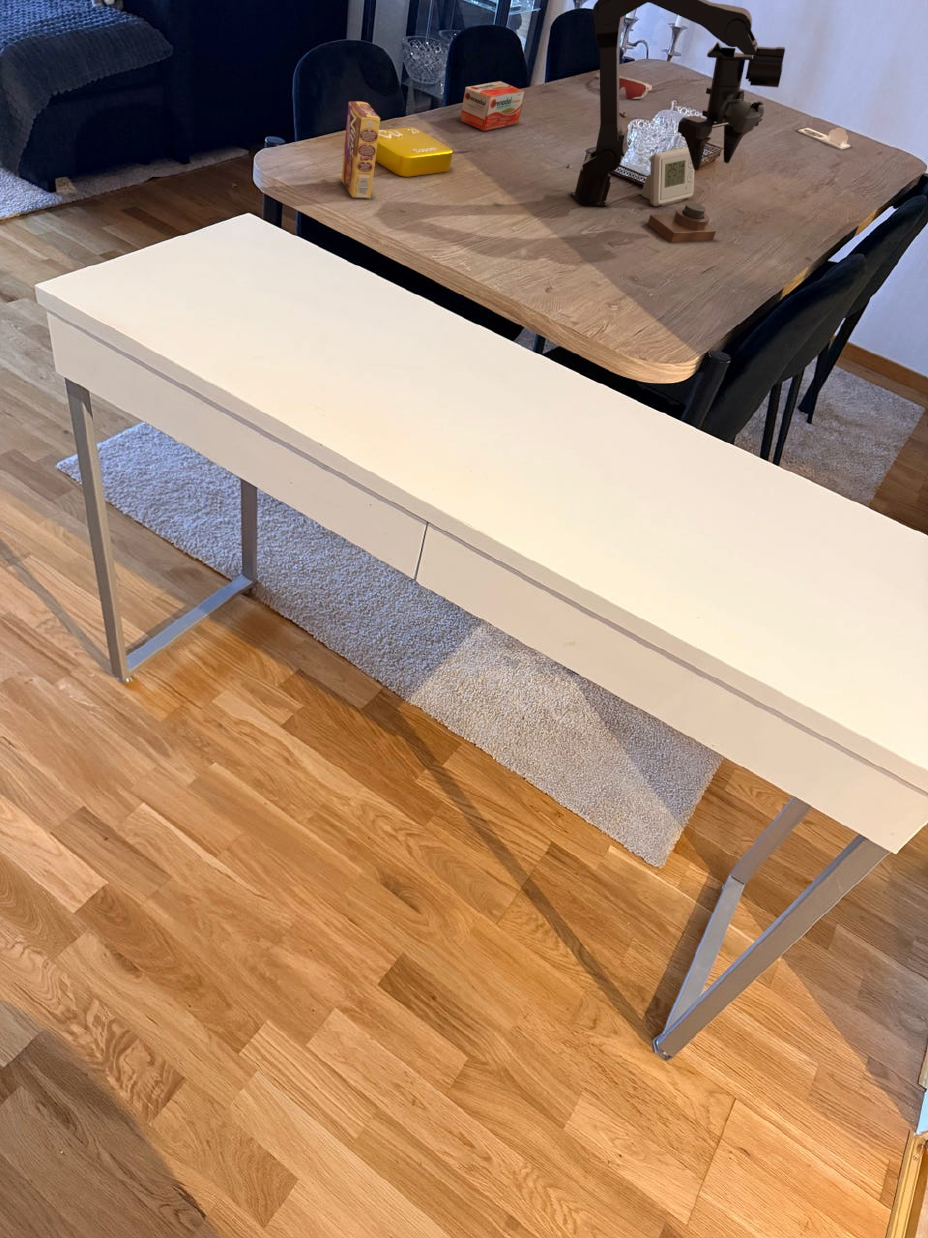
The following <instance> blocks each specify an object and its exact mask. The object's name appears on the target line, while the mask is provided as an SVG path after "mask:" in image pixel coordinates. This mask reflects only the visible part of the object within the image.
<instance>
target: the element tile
mask: <svg viewBox="0 0 928 1238" xmlns="http://www.w3.org/2000/svg"><path fill="white" fill-rule="evenodd" d="M452 158H453V149H452V148H451V147H449V146H447V145H445V144H444V143H442V142H440V141H438V140H437V139H435V138H434V137H432V136H430V135H428V134H426V133H425V132H423V131H422V130H420V129H418V128H417V127H413V126H411V127H399V128H389V129H379V134H378V142H377V150H376V158H375V163H378V165H381V166H383V168H385V169H387V170H389V171H390V172H392V173H393V174H395V175H397V176H399V177H404V178H411V177H418V176H425V175H432V174H441V173H447V172H449V171H450V170H451V164H452Z"/></svg>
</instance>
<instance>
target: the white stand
mask: <svg viewBox="0 0 928 1238" xmlns="http://www.w3.org/2000/svg"><path fill="white" fill-rule="evenodd" d="M797 133H800V134H802V135H805V136H807V137H810V138H812V139H814V140H816V141H819V142H821V143H824V144H826V145H828V146H830V147H833V148H835V149H838V150H844V149H848V148H851V144H848V143H847V142H848V141H849V136H848V134H847V130H846V129H845V128H842V127H836V128H835V129H834V128H833V129H831V130H829V133H828V135H827V134H824V133H821V132H819V131H817V130H815V129H812V128H810V127H805V128H802V129H798V130H797Z"/></svg>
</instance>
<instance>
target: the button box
mask: <svg viewBox="0 0 928 1238" xmlns="http://www.w3.org/2000/svg"><path fill="white" fill-rule="evenodd" d="M684 208H685V206H684V207H683V206H681V207H678V208H677V209H676V210H675V213H661V214H659V213H657V214H650V215H649V217H648V220H647V225H648V227H650V228H651V229H653V230H654V231H655V232H656V233H658V234H659V235H661V237H663V238H665V240H667V241H668V242H670V243H686V242H705V241H706V242H709V241H714V238H715V236H716V231H717V230H716V229H714V228H713V227H712V226H710V225H709V222H710V216H709V215H708V214H707V213H705V212H704V215H703V218H702V219H694V218H690V217H688V216H686V215H684V214H683V211H684Z"/></svg>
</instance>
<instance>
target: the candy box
mask: <svg viewBox="0 0 928 1238" xmlns="http://www.w3.org/2000/svg"><path fill="white" fill-rule="evenodd" d="M347 106H348V108H347V115H346V116H347V118H346V125H345V139H344V149H343V159H342V170H341V171H342V172H341V182H342V184H343V185H344V187H345V188H346V190H347V191H348V193H349V194H350V196H351V197H352V198H354V199H355V198H356V199H369V200H370V199H371V197H372V189H373V181H374V173H375V167H376V166H375V165H376V161H375V158H376V150H377V142H378V134H379V130H380V125H381V117H380V116H379V115H378V114H377V113H376V112H375V110H374V109H373V107H372V106H371V105H370V104H369V103H368V102H365V101H348V105H347ZM355 193H364V194H355Z"/></svg>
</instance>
